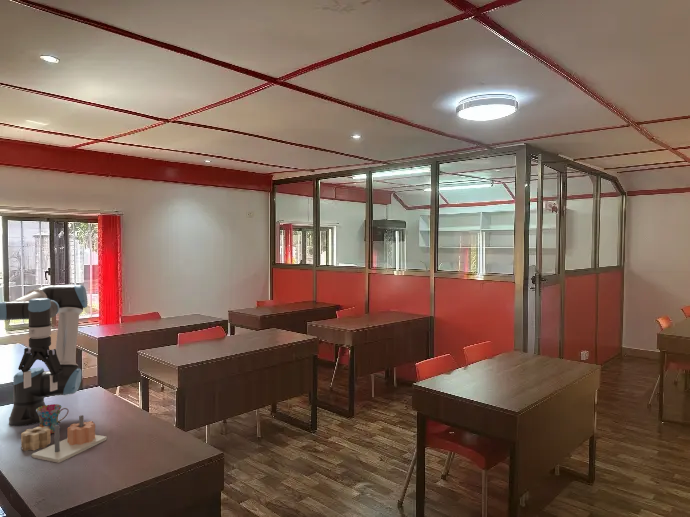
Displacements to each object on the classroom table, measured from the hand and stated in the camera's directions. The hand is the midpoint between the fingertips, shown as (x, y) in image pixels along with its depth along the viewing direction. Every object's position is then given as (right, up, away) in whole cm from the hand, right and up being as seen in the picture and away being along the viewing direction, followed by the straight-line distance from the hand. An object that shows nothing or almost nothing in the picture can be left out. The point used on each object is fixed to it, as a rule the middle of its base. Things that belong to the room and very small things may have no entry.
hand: (40, 388), depth 187 cm
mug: (-4, -23, +14) cm, 27 cm away
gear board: (+14, -23, -2) cm, 27 cm away
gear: (-1, -23, 0) cm, 23 cm away
